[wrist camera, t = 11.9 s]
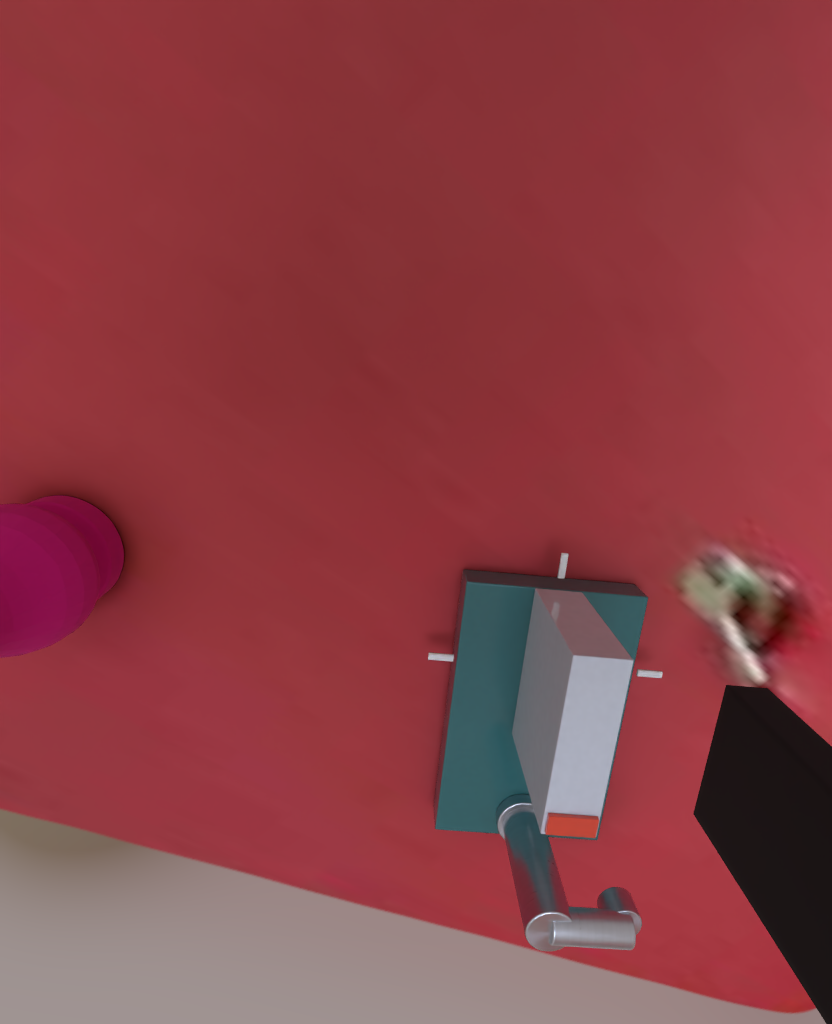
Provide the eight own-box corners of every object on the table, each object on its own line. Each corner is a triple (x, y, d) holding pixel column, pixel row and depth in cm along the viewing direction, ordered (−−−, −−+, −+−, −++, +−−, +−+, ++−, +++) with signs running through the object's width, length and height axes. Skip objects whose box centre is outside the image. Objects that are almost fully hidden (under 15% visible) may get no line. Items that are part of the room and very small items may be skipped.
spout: (492, 833, 36) (516, 963, 28) (498, 791, 35) (525, 913, 28) (593, 840, 36) (644, 970, 29) (601, 799, 36) (656, 921, 28)
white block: (535, 587, 32) (574, 657, 25) (582, 592, 32) (636, 663, 25) (511, 733, 34) (541, 838, 27) (556, 737, 35) (598, 842, 27)
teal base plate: (438, 531, 33) (441, 542, 31) (669, 551, 34) (687, 564, 32) (408, 803, 38) (408, 830, 36) (612, 818, 39) (624, 844, 36)
